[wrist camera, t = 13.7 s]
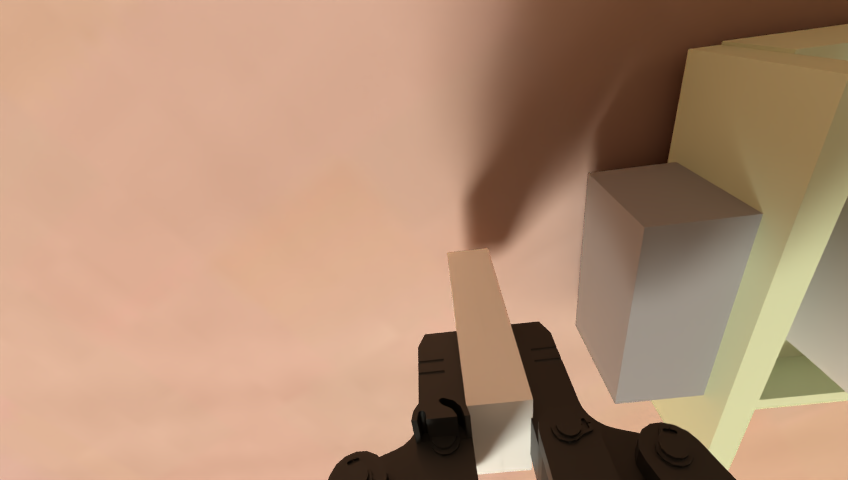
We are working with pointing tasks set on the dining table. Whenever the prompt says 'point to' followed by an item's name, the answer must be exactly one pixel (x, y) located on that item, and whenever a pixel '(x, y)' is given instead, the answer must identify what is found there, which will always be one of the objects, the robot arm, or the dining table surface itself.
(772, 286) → the tray
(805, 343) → the mug
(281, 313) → the dining table surface
